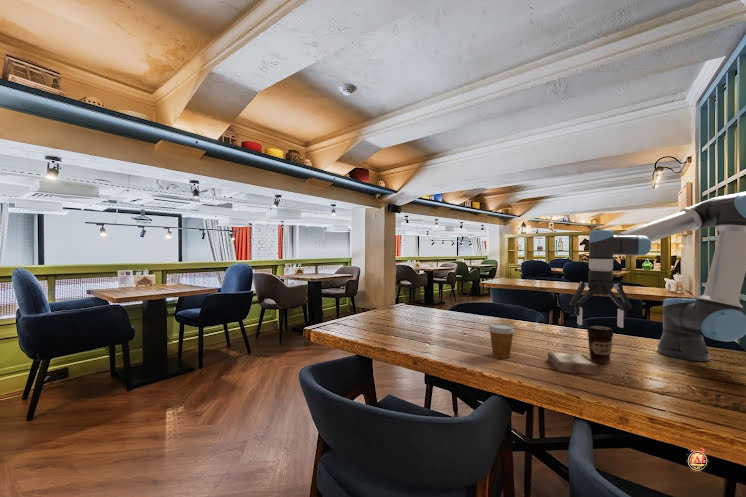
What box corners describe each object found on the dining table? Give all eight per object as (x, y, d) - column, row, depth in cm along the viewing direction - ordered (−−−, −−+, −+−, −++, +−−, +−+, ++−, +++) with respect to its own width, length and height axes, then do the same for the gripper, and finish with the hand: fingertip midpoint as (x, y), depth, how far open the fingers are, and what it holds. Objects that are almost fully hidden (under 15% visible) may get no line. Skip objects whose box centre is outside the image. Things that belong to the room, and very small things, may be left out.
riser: (583, 362, 119) (583, 353, 119) (597, 374, 108) (597, 365, 108) (548, 359, 122) (548, 351, 122) (558, 371, 111) (558, 361, 111)
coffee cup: (619, 366, 115) (619, 330, 115) (593, 364, 117) (593, 329, 117) (606, 358, 124) (606, 325, 124) (583, 356, 126) (583, 324, 126)
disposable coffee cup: (514, 354, 129) (514, 324, 129) (514, 361, 120) (514, 330, 120) (489, 350, 133) (489, 322, 133) (487, 357, 124) (487, 327, 124)
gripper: (633, 270, 121) (632, 325, 121) (560, 268, 127) (560, 321, 127) (644, 271, 114) (643, 330, 114) (567, 269, 120) (566, 325, 120)
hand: (599, 325), depth 121 cm, fingers open, 13 cm apart
